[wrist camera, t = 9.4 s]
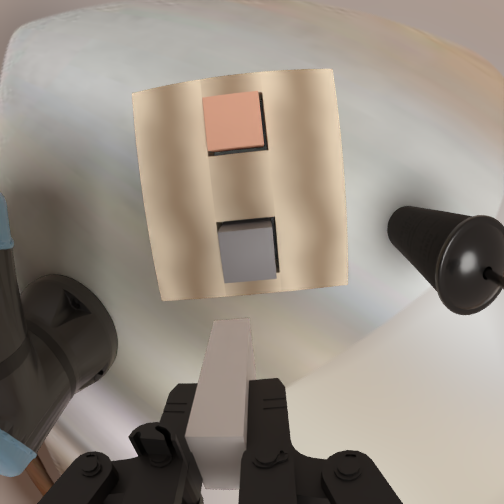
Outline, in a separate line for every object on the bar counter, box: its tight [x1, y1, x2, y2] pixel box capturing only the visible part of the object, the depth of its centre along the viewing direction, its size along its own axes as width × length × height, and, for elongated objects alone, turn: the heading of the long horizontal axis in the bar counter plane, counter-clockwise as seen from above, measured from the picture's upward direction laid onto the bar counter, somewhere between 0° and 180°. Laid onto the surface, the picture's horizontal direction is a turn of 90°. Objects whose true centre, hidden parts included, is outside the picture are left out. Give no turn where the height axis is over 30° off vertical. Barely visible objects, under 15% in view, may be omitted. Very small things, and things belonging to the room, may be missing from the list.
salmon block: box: [202, 91, 264, 152], centre depth 26 cm, size 4×4×5 cm
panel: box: [132, 69, 348, 301], centre depth 30 cm, size 18×20×4 cm
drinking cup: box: [388, 206, 504, 315], centre depth 23 cm, size 8×8×20 cm
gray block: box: [218, 217, 277, 283], centre depth 29 cm, size 4×4×5 cm
